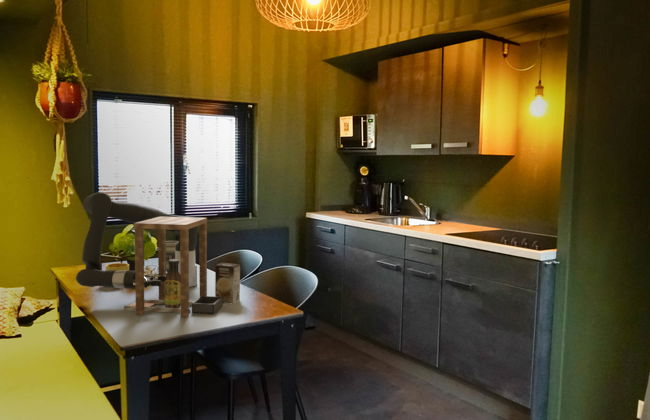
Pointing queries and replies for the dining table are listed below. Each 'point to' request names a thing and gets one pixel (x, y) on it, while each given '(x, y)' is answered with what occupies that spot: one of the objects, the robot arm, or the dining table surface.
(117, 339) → the dining table surface
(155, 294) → the dining table surface
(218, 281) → the coffee box
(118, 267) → the plant pot
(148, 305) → the pad
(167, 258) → the apothecary jar
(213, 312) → the box
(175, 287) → the sauce bottle
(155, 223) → the frame
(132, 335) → the dining table surface
